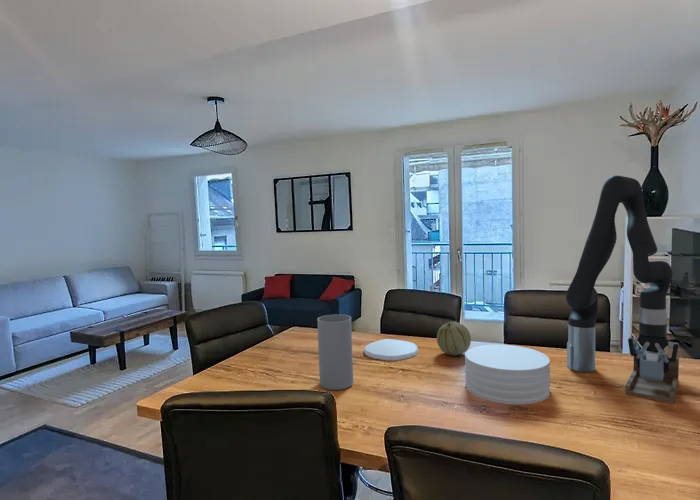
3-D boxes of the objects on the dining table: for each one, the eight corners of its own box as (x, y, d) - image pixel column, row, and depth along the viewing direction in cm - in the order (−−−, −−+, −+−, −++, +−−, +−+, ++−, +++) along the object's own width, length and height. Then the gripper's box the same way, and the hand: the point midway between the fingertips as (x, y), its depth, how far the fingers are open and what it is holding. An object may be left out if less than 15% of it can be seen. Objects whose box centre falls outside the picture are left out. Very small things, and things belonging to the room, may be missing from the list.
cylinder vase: (357, 379, 163) (355, 315, 161) (346, 392, 151) (344, 323, 149) (327, 376, 167) (325, 313, 165) (314, 389, 155) (311, 321, 153)
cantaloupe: (475, 352, 191) (474, 319, 190) (465, 362, 179) (464, 326, 178) (443, 347, 199) (443, 316, 198) (431, 356, 187) (431, 323, 186)
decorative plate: (401, 355, 179) (353, 346, 194) (402, 364, 179) (353, 355, 194) (427, 340, 199) (382, 333, 214) (427, 349, 200) (382, 341, 214)
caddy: (662, 381, 136) (662, 357, 135) (639, 377, 140) (639, 354, 139) (665, 370, 145) (665, 347, 145) (643, 367, 149) (643, 345, 148)
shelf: (673, 403, 134) (674, 375, 133) (625, 393, 142) (625, 366, 142) (678, 383, 149) (678, 358, 148) (634, 376, 158) (634, 351, 157)
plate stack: (509, 412, 132) (509, 376, 131) (449, 383, 157) (448, 352, 156) (568, 392, 145) (568, 359, 144) (503, 368, 170) (503, 340, 169)
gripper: (680, 321, 140) (680, 371, 141) (628, 316, 149) (628, 363, 150) (679, 326, 134) (679, 378, 135) (625, 321, 143) (625, 370, 144)
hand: (652, 370), depth 142 cm, fingers closed on caddy, 6 cm apart
